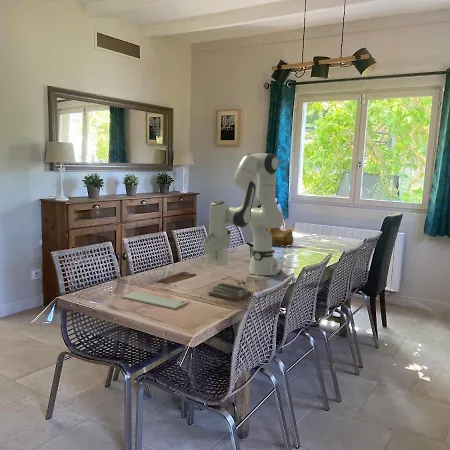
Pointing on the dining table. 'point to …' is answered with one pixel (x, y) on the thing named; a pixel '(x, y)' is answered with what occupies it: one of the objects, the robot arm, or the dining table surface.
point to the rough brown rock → (281, 236)
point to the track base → (229, 292)
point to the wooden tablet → (176, 278)
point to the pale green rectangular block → (218, 258)
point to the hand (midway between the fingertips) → (217, 258)
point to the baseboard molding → (155, 300)
